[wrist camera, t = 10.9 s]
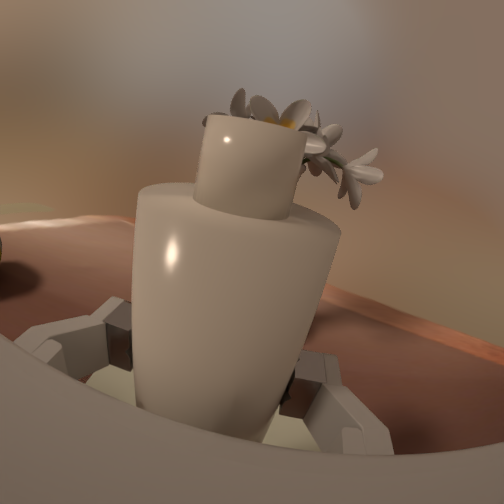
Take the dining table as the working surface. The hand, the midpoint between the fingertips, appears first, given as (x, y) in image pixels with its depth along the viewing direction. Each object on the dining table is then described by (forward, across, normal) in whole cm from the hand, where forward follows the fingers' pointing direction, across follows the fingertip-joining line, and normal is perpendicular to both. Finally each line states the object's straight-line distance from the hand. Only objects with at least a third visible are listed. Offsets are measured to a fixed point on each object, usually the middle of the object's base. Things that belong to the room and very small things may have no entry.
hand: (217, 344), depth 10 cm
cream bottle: (-1, 0, +7) cm, 7 cm away
